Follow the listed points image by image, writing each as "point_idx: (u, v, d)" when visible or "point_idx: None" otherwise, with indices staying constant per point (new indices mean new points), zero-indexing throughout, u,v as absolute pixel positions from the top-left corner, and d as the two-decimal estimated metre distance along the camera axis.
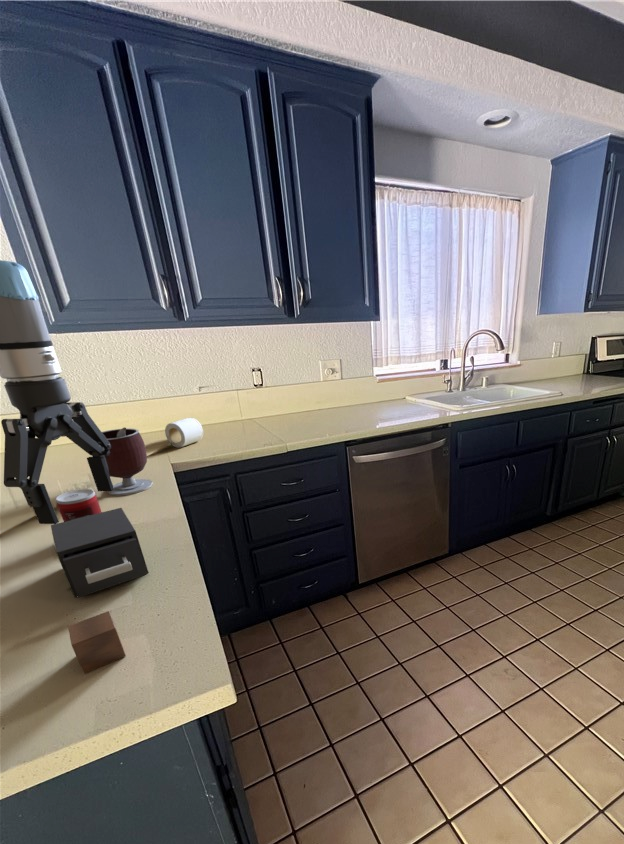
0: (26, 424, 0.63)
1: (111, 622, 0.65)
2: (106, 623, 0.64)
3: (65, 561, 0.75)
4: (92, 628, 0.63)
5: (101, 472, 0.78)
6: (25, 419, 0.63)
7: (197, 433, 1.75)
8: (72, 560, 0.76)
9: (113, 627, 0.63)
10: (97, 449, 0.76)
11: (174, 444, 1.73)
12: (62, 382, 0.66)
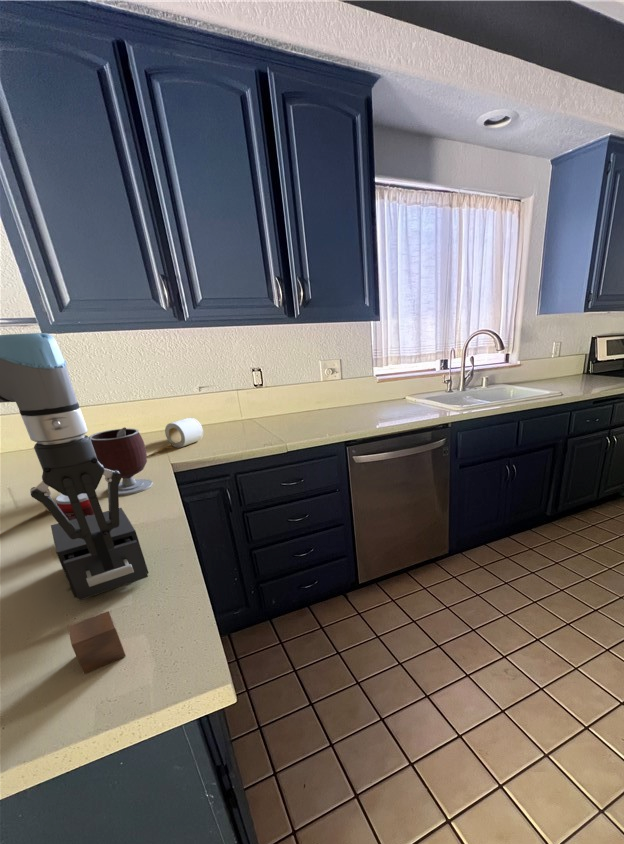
0: (46, 486, 0.68)
1: (111, 622, 0.65)
2: (106, 623, 0.64)
3: (66, 564, 0.75)
4: (92, 628, 0.63)
5: None
6: (42, 484, 0.67)
7: (197, 433, 1.75)
8: (73, 563, 0.75)
9: (113, 627, 0.63)
10: (99, 524, 0.73)
11: (174, 444, 1.73)
12: (72, 446, 0.66)
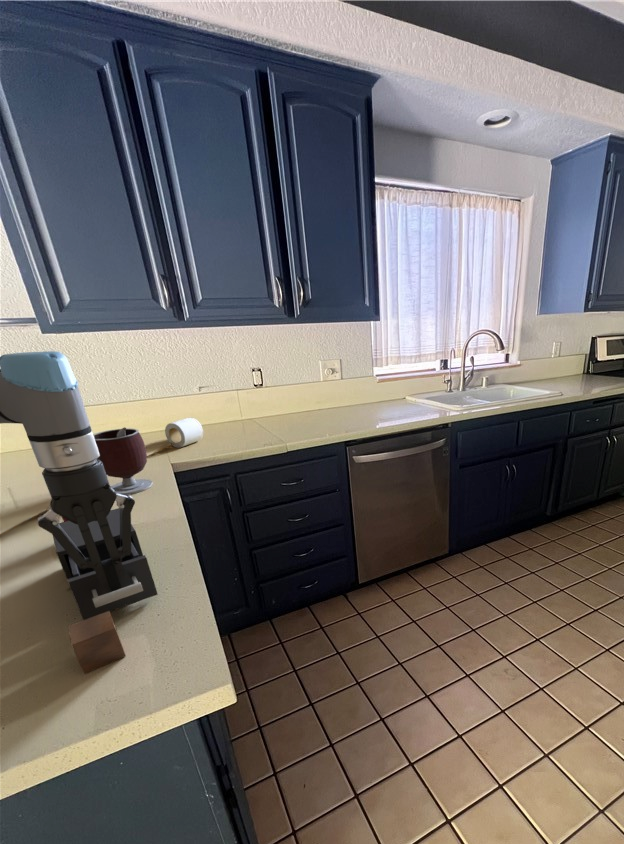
0: (55, 515, 0.63)
1: (111, 622, 0.65)
2: (106, 623, 0.64)
3: (70, 583, 0.69)
4: (92, 628, 0.63)
5: None
6: (50, 512, 0.63)
7: (197, 433, 1.75)
8: (78, 581, 0.70)
9: (113, 627, 0.63)
10: (110, 552, 0.69)
11: (174, 444, 1.73)
12: (83, 473, 0.61)
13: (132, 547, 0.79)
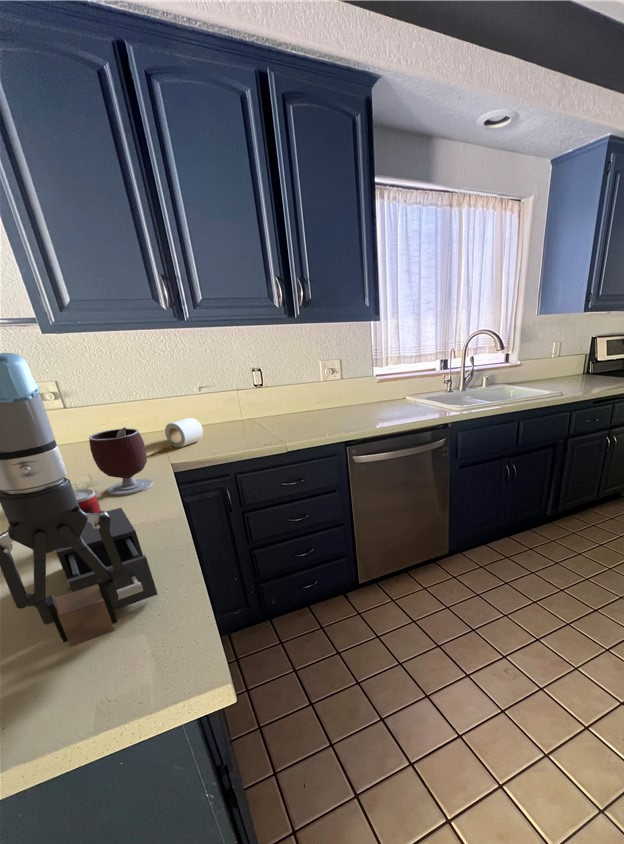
0: (10, 541, 0.54)
1: (100, 595, 0.63)
2: (94, 595, 0.62)
3: (70, 583, 0.69)
4: (79, 600, 0.61)
5: None
6: (6, 537, 0.54)
7: (197, 433, 1.75)
8: (78, 581, 0.70)
9: (101, 599, 0.61)
10: (99, 575, 0.61)
11: (174, 444, 1.73)
12: (45, 496, 0.52)
13: (132, 547, 0.79)
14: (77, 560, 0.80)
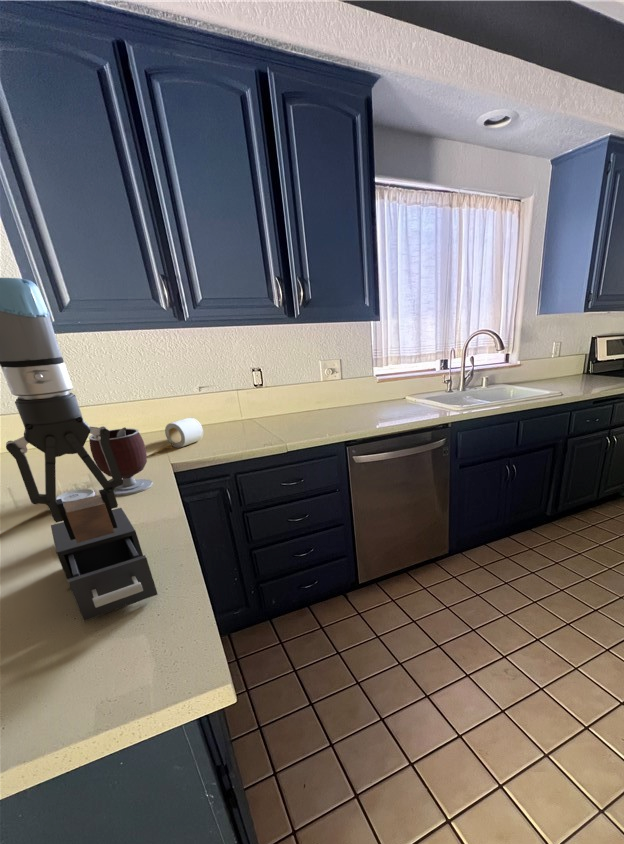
0: (25, 443, 0.64)
1: (101, 500, 0.73)
2: (97, 501, 0.73)
3: (70, 583, 0.69)
4: (84, 504, 0.72)
5: None
6: (22, 439, 0.64)
7: (197, 433, 1.75)
8: (78, 581, 0.70)
9: (103, 503, 0.72)
10: (101, 482, 0.71)
11: (174, 444, 1.73)
12: (55, 402, 0.63)
13: (132, 547, 0.79)
14: (77, 560, 0.80)
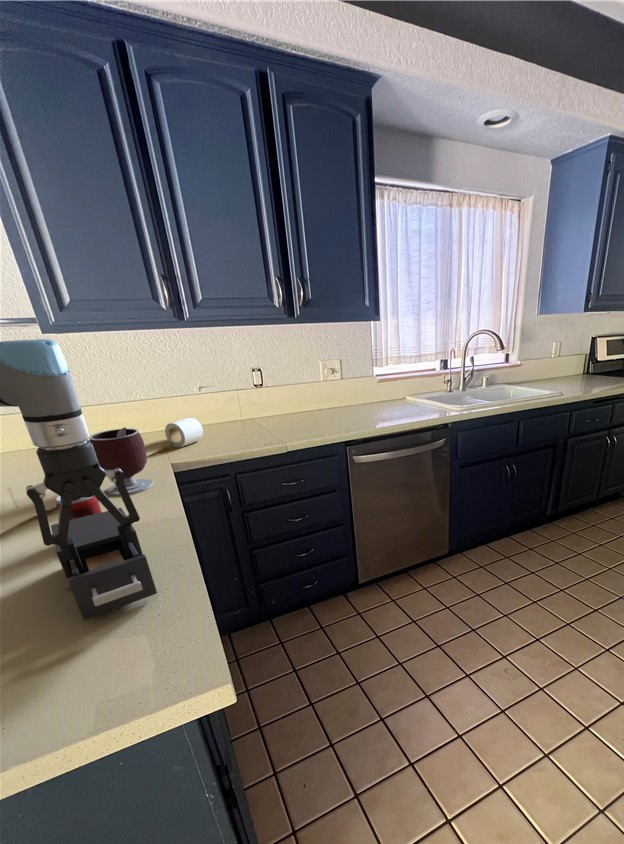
0: (44, 489, 0.68)
1: (121, 556, 0.78)
2: (117, 557, 0.78)
3: (70, 581, 0.69)
4: (105, 560, 0.77)
5: (122, 542, 0.78)
6: (42, 485, 0.68)
7: (197, 433, 1.75)
8: (77, 580, 0.70)
9: (122, 560, 0.77)
10: (118, 520, 0.76)
11: (174, 444, 1.73)
12: (74, 452, 0.66)
13: (132, 546, 0.80)
14: None
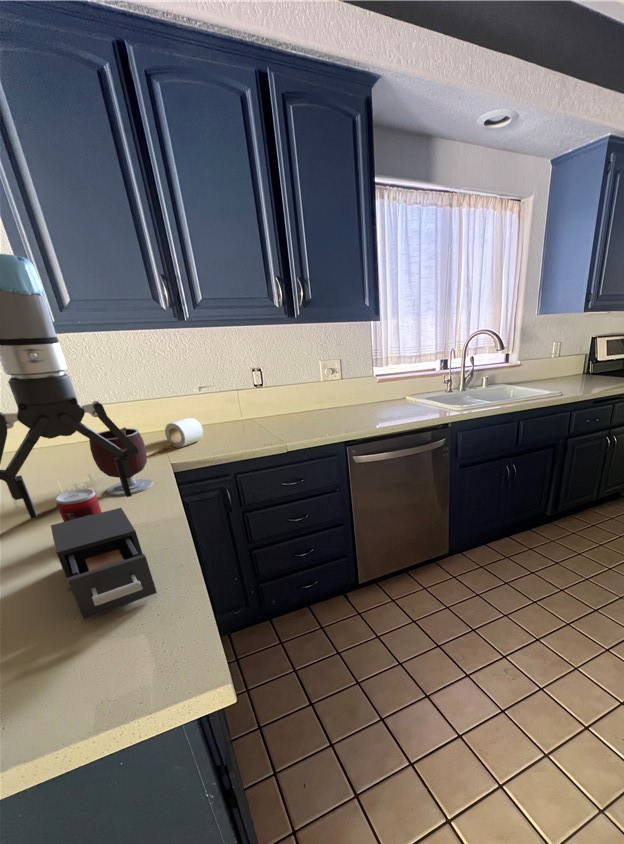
0: (15, 420, 0.63)
1: (120, 556, 0.78)
2: (116, 557, 0.78)
3: (70, 581, 0.69)
4: (105, 560, 0.77)
5: (120, 476, 0.74)
6: (14, 415, 0.63)
7: (197, 433, 1.75)
8: (77, 580, 0.70)
9: (122, 559, 0.77)
10: (114, 453, 0.72)
11: (174, 444, 1.73)
12: (49, 382, 0.62)
13: (131, 546, 0.80)
14: (77, 559, 0.80)
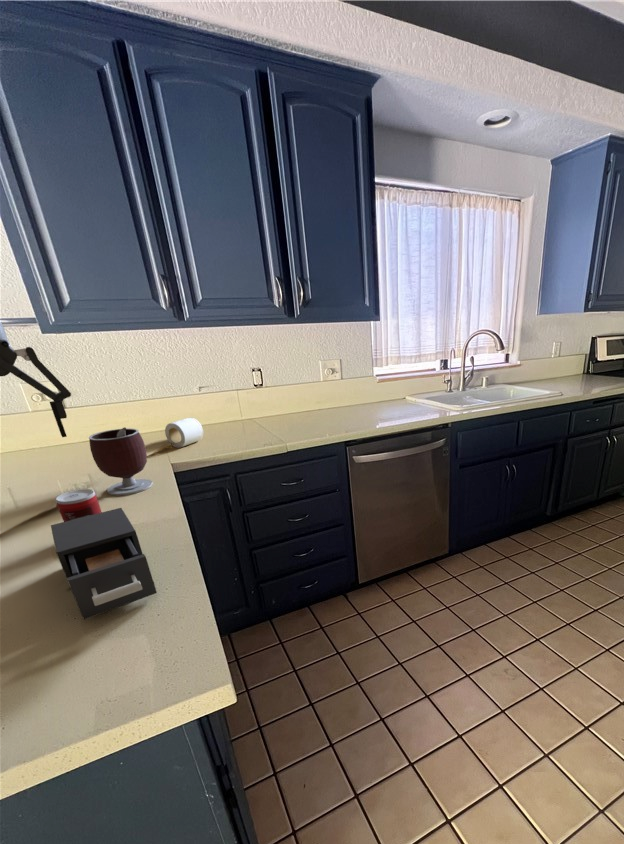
0: None
1: (120, 556, 0.78)
2: (116, 557, 0.78)
3: (70, 581, 0.69)
4: (105, 560, 0.77)
5: (55, 417, 0.82)
6: None
7: (197, 433, 1.75)
8: (77, 580, 0.70)
9: (122, 559, 0.77)
10: (47, 394, 0.80)
11: (174, 444, 1.73)
12: None
13: (131, 546, 0.80)
14: (77, 559, 0.80)
